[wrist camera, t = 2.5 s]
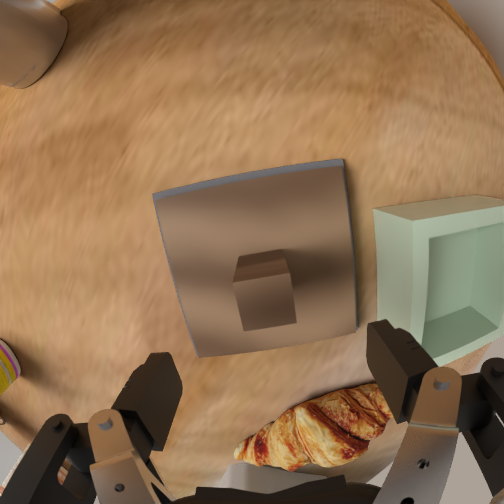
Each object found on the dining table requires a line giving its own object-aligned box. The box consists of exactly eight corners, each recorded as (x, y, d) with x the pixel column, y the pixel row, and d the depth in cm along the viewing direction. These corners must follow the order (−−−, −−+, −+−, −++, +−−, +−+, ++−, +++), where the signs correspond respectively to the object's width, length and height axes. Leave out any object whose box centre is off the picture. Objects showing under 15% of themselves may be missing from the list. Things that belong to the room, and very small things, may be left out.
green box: (372, 208, 19) (412, 220, 14) (476, 194, 19) (520, 202, 13) (376, 340, 22) (402, 381, 17) (470, 309, 22) (503, 334, 16)
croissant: (249, 435, 31) (262, 486, 25) (204, 426, 24) (217, 493, 18) (401, 371, 27) (426, 424, 21) (402, 344, 21) (439, 417, 15)
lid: (159, 199, 19) (122, 208, 13) (337, 166, 18) (369, 162, 12) (201, 351, 22) (186, 398, 17) (352, 326, 22) (376, 369, 16)
